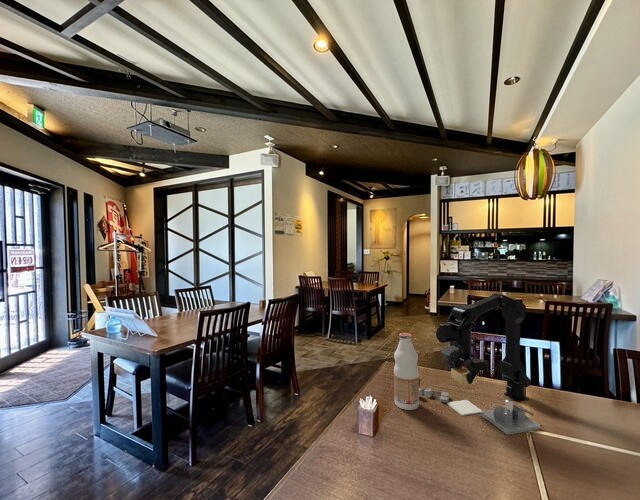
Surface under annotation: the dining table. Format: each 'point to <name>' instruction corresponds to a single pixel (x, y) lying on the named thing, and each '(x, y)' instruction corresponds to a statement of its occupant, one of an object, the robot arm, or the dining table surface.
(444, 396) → the pulley system
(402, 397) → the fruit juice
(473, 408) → the felt mat
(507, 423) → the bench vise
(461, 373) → the brass collar
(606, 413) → the dining table surface
